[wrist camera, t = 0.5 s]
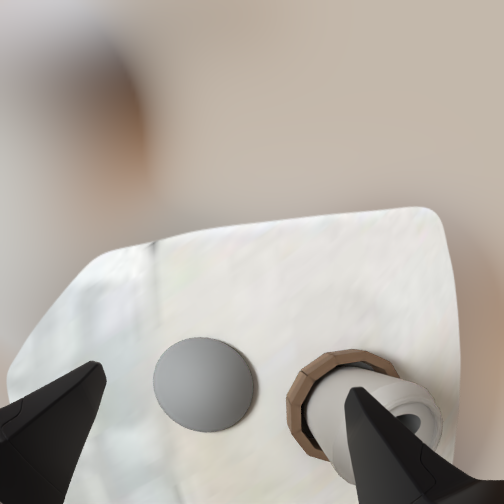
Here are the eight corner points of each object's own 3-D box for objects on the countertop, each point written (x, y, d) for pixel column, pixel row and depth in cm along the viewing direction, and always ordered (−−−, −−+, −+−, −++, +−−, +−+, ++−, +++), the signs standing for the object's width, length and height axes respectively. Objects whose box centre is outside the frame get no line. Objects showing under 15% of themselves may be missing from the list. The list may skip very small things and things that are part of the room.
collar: (403, 405, 22) (418, 411, 19) (320, 466, 20) (328, 479, 17) (357, 328, 24) (369, 328, 21) (264, 392, 22) (266, 400, 20)
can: (379, 362, 23) (460, 376, 12) (371, 433, 21) (437, 480, 9) (304, 365, 23) (350, 393, 12) (297, 439, 21) (330, 508, 10)
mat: (272, 401, 22) (272, 402, 22) (189, 444, 21) (188, 446, 20) (217, 318, 24) (217, 318, 24) (137, 365, 23) (135, 366, 22)
